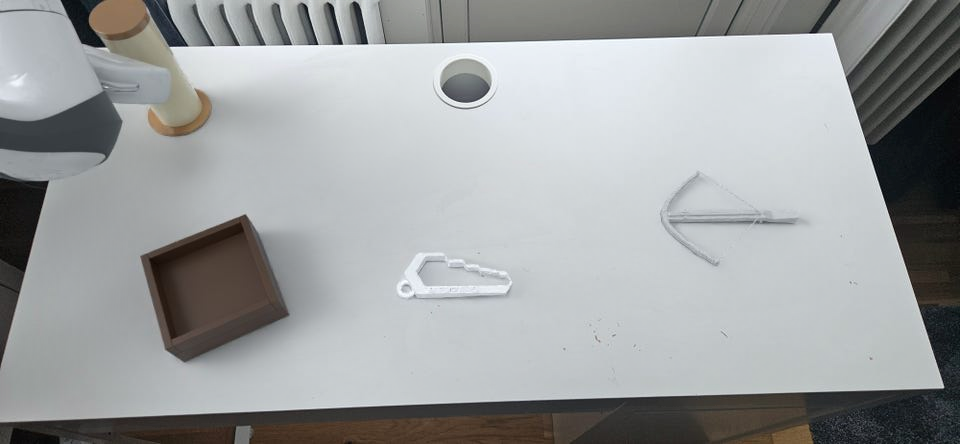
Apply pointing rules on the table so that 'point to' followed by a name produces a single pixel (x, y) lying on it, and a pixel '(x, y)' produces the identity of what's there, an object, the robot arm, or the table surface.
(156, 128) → the coaster
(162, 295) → the tray
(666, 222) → the crossbow
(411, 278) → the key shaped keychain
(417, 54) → the table surface
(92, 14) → the cylindrical canister
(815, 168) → the table surface
